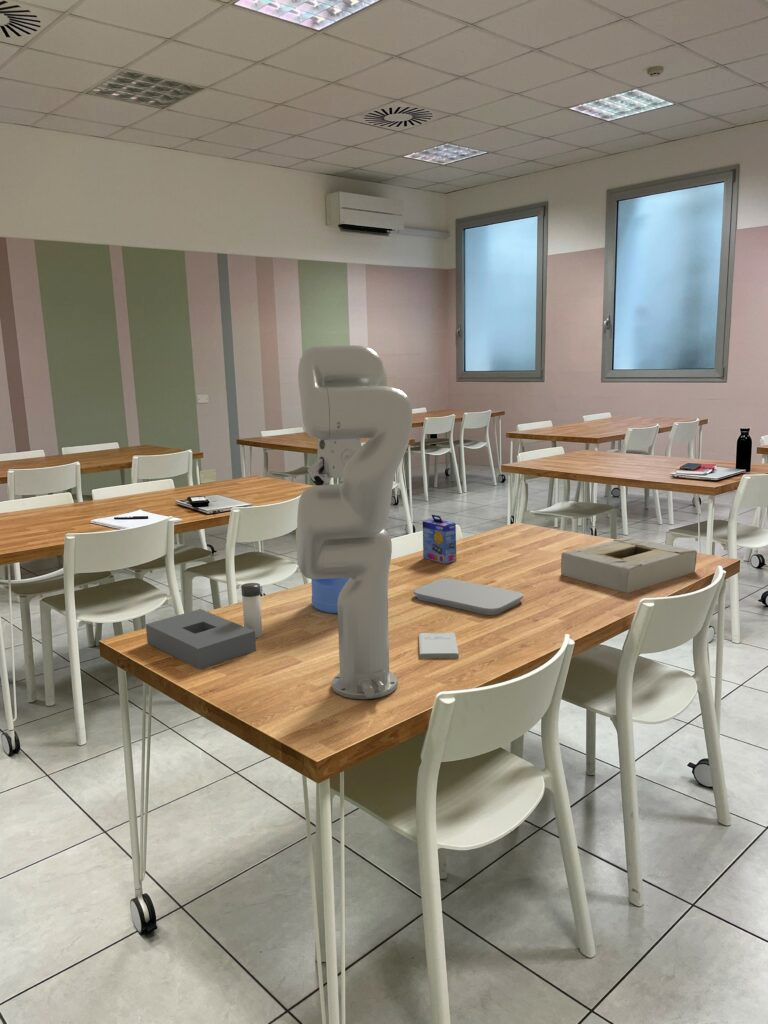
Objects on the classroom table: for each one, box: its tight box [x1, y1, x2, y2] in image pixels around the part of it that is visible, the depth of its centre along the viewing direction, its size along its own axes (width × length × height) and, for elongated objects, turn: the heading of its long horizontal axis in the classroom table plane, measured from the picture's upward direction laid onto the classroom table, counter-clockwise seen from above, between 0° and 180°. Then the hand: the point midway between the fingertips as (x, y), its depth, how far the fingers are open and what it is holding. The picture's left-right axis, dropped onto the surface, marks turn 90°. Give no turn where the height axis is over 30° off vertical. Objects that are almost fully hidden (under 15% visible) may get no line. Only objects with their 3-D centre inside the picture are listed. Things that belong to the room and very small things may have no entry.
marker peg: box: [240, 582, 263, 640], centre depth 173 cm, size 4×4×12 cm
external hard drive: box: [418, 632, 460, 659], centre depth 165 cm, size 2×8×12 cm
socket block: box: [145, 608, 257, 670], centre depth 167 cm, size 22×14×4 cm, turn 45°
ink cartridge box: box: [422, 514, 457, 565], centre depth 235 cm, size 10×6×14 cm, turn 42°
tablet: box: [413, 578, 524, 616], centre depth 197 cm, size 16×26×2 cm, turn 51°
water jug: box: [310, 577, 349, 615], centre depth 192 cm, size 16×16×28 cm
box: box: [560, 536, 698, 594], centre depth 217 cm, size 23×8×32 cm
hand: (340, 501), depth 169 cm, fingers open, 9 cm apart
